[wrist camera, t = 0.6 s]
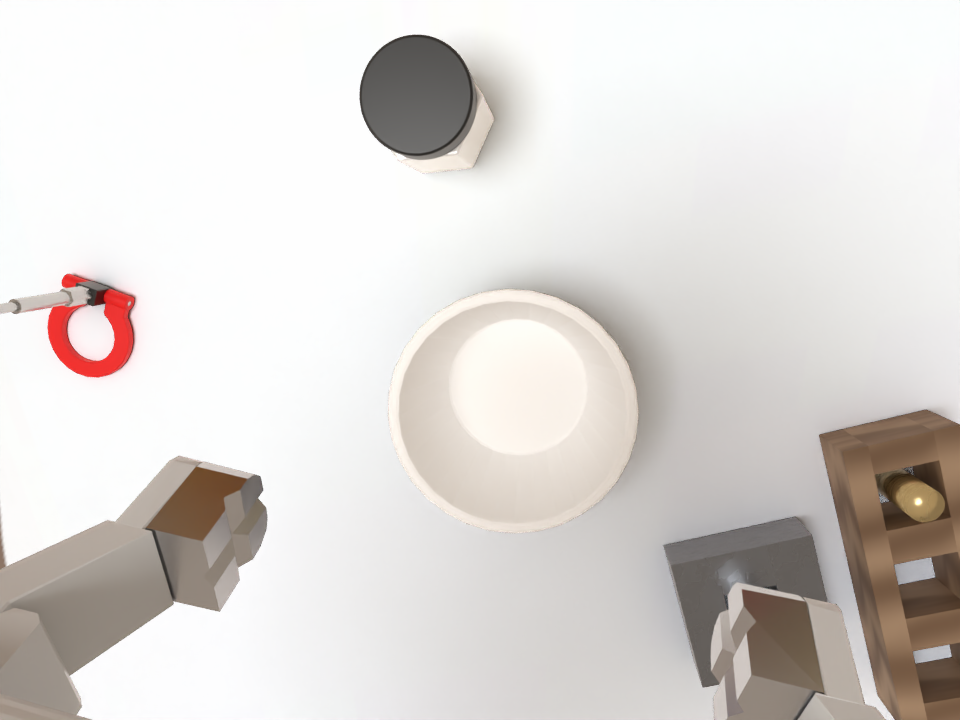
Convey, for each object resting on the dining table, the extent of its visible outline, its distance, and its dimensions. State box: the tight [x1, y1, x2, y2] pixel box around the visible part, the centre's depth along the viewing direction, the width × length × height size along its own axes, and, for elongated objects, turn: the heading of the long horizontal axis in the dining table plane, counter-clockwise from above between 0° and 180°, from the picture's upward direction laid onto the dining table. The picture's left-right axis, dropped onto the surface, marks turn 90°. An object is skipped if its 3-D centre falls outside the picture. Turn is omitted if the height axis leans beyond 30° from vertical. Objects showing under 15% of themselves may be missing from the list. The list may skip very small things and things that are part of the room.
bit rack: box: [819, 410, 960, 720], centre depth 59 cm, size 26×9×5 cm, turn 16°
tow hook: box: [0, 274, 134, 377], centre depth 60 cm, size 8×13×9 cm
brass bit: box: [875, 469, 945, 522], centre depth 57 cm, size 3×3×7 cm
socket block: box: [664, 517, 827, 687], centre depth 61 cm, size 12×12×4 cm
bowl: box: [388, 289, 639, 533], centre depth 57 cm, size 19×19×11 cm
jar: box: [360, 35, 494, 174], centre depth 53 cm, size 9×8×12 cm
